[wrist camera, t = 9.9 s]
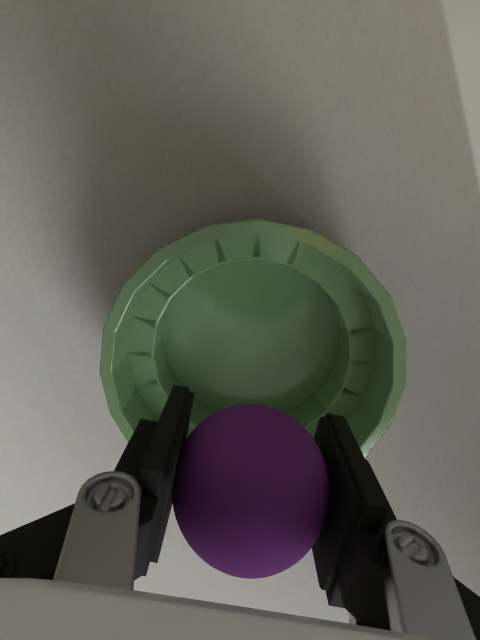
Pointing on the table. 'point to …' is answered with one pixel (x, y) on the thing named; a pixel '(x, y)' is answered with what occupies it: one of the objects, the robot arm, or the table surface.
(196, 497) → the ball
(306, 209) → the table surface
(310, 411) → the bowl
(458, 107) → the table surface
